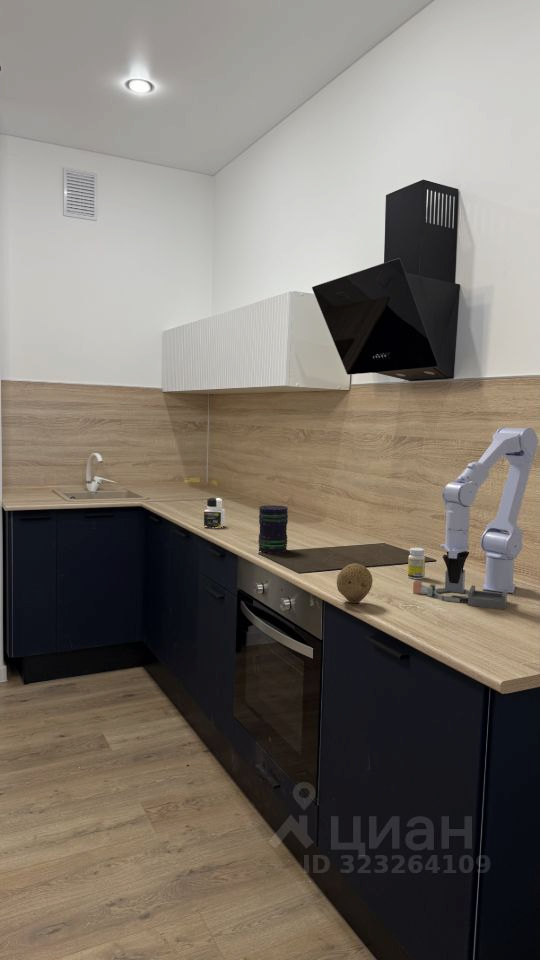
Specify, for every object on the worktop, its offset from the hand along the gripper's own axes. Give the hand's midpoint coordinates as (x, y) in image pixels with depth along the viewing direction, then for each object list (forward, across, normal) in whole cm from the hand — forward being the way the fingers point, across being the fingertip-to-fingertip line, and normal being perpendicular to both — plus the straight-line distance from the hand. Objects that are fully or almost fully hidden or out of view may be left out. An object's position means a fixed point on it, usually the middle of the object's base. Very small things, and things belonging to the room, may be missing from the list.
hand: (455, 580), depth 179 cm
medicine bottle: (+4, -70, -105) cm, 126 cm away
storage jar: (+4, -35, -65) cm, 74 cm away
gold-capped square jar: (+2, 0, 0) cm, 2 cm away
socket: (+4, 0, 0) cm, 4 cm away
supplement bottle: (+4, -17, -13) cm, 22 cm away
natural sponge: (+4, +18, -22) cm, 29 cm away
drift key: (+4, 0, -8) cm, 9 cm away
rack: (+4, +3, +8) cm, 10 cm away
